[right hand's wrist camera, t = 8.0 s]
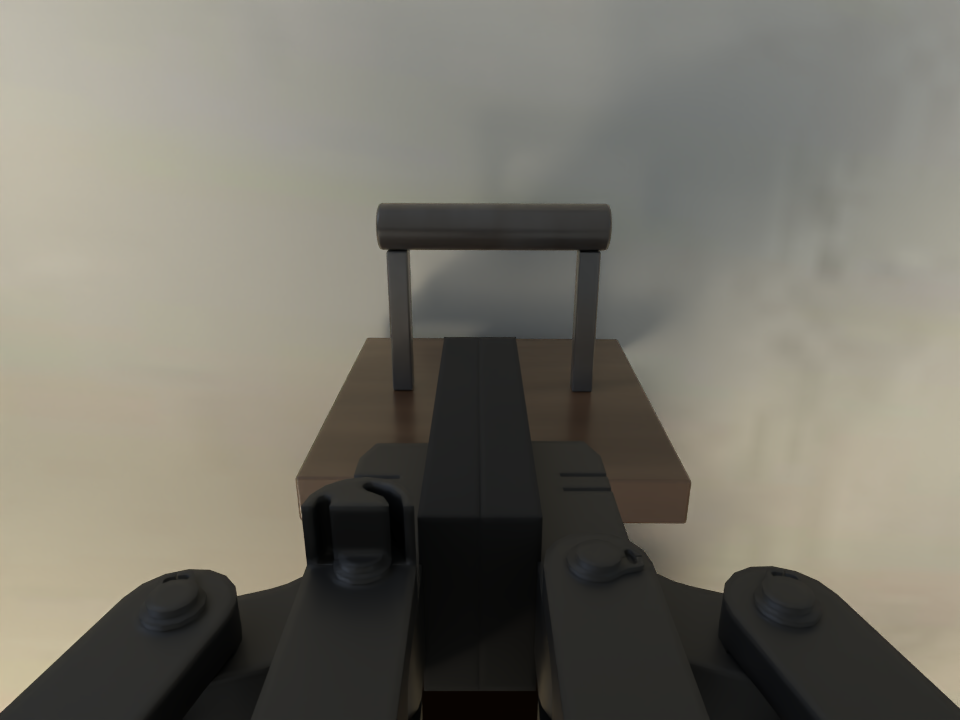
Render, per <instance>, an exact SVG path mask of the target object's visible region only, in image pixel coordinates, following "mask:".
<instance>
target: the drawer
mask: <svg viewBox="0 0 960 720" xmlns="http://www.w3.org/2000/svg"><path fill="white" fill-rule="evenodd" d="M611 229H612V217H611V210H610V207H609V205H607V204H486V203H381V204H379V206H378V209H377V215H376V233H377V241H378V245H379V247H380V249H383V250H388V251H387V274H388V295H389V315H390V336H391V338H367V339H366V341H365V343H364V345H363V347H362V349H361V351H360V353H359V355H358V357H357V359H356V361H355V363H354V365H353V367H352V369H351V371H350V373H349V375H348V377H347V379H346V381H345V383H344V385H343V387H342V388H341V390H340V392H339V394H338V396H337V398H336V400H335V402H334V404H333V406H332V408H331V410H330V412H329V414H328V416H327V418H326V420H325V422H324V424H323V426H322V428H321V430H320V432H319V434H318V436H317V437H316V439H315V441H314V443H313V445H312V447H311V449H310V451H309V453H308V455H307V457H306V459H305V461H304V463H303V465H302V467H301V469H300V471H299V473H298V475H297V477H296V487H297V496H298V505H299V514H300V518H301V519H302V513H301V505H302V504H303V503H304V502H305V500H306V499H307V498H308V497H309V495H310V494H312V493H314V492H315V491H317V490H319V489H320V488H322V487H323V486H325V485H328V484H331V483H334V482H337V481H341V480H344V479H351V478H354V473H355V470H356V467H357V464H358V461H359V458H360V457H361V456H363V455H364V454H365V453H366V452H367V451H368V450H369V449H371V448H372V447H373V446H374V445H375V444H376V443H429V436H430V429H431V422H432V416H433V409H434V402H435V396H436V389H437V382H438V376H439V369H440V362H441V355H442V349H443V342H444V338H413V329H412V301H411V274H410V250H577V262H576V281H575V300H574V319H573V338H572V339H516V342H517V349H518V355H519V362H520V369H521V376H522V382H523V389H524V396H525V402H526V409H527V416H528V422H529V429H530V436H531V441H584V442H585V443H586V444H587V445H589V446H590V447H591V448H592V449H593V450H594V451H596V452H597V453H598V454H599V455H600V456H601V459H602V462H603V465H604V468H605V471H606V477H608V479H609V482H610V485H611V491H613V494H614V497H615V500H616V503H617V506H618V509H619V512H620V515H621V518H622V521H623V523H685V522H686V519H687V512H688V504H689V496H690V488H691V480H690V478H689V476H688V474H687V473H686V471H685V469H684V467H683V465H682V463H681V461H680V459H679V457H678V455H677V453H676V451H675V450H674V448H673V446H672V444H671V442H670V440H669V438H668V436H667V434H666V432H665V430H664V428H663V427H662V425H661V423H660V421H659V419H658V417H657V415H656V413H655V411H654V409H653V407H652V405H651V404H650V402H649V400H648V398H647V396H646V394H645V392H644V390H643V388H642V386H641V384H640V382H639V381H638V379H637V377H636V375H635V373H634V371H633V369H632V367H631V365H630V363H629V361H628V359H627V358H626V356H625V354H624V352H623V350H622V348H621V346H620V344H619V342H618V340H616V339H595V334H596V319H597V303H598V288H599V273H600V258H601V253H600V251H604V250H607V249H608V246H609V244H610V239H611ZM422 714H423V720H537V714H538V686H537V677H536V691H424V679H423V689H422Z"/></svg>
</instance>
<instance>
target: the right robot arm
mask: <svg viewBox="0 0 960 720" xmlns="http://www.w3.org/2000/svg"><path fill="white" fill-rule="evenodd" d="M301 513H302V522H303V531H304V540H305V549H306V558H307V567H306V570H305V572H304V575H303V577H301V578H299V579H297V580H295V581H292V582H290V583H288V584H285V585H282V586H279V587H275V588H272V589H268V590H263V591H259V592H254V593H250V594H245V595H241V596H237V593H236V587H235V585H234V584H233V583H232V582H231V581H230V580H229V579H228V578H227V576H225V575H222V574H220V573H217V572H214V571H211V570H194V569H188V570H183V571H178V572H173V573H168V574H164V575H162V576H160V577H157V578H155V579H153V580H151V581H148V582H146V583H144V584H142V585H140V586H139V587H138V588H136V589H135V590H133V591H132V592H131V593H129V594H128V595H126V596H125V597H124V598H123V599H121V600H120V601H119V602H118V603H117V604H116V605H115V606H114V607H113V608H112V609H111V610H110V611H109V612H108V613H107V614H105V615H104V616H103V617H102V618H101V619H100V620H99V621H98V622H97V623H96V624H95V625H94V626H93V627H92V628H91V629H90V630H88V631H87V632H86V633H85V634H84V635H83V636H82V637H81V638H80V639H79V640H78V641H77V642H76V643H75V644H74V645H72V646H71V647H70V648H69V649H68V650H67V651H66V652H65V653H64V654H63V655H62V656H61V657H60V658H59V659H58V660H56V661H55V662H54V663H53V664H52V665H51V666H50V667H49V668H48V669H47V670H46V671H45V672H44V673H43V674H42V675H40V676H39V677H38V678H37V679H36V680H35V681H34V682H33V683H32V684H31V685H30V686H29V687H28V688H27V689H26V690H24V691H23V692H22V693H21V694H20V695H19V696H18V697H17V698H16V699H15V700H14V701H13V702H12V703H11V704H10V705H8V706H7V707H6V708H5V709H4V710H3V711H2V712H1V713H0V720H423V714H422V689H423V679H424V691H536V677H537V686H538V714H537V720H960V708H959V707H958V706H957V705H955V704H954V703H953V702H952V701H951V700H950V699H949V698H948V697H947V696H946V695H945V694H944V693H943V692H941V691H940V690H939V689H938V688H937V687H936V686H935V685H934V684H933V683H932V682H931V681H930V680H929V679H928V678H926V677H925V676H924V675H923V674H922V673H921V672H920V671H919V670H918V669H917V668H916V667H915V666H914V665H912V664H911V663H910V662H909V661H908V660H907V659H906V658H905V657H904V656H903V655H902V654H901V653H900V652H898V651H897V650H896V649H895V648H894V647H893V646H892V645H891V644H890V643H889V642H888V641H887V640H886V639H885V638H883V637H882V636H881V635H880V634H879V633H878V632H877V631H876V630H875V629H874V628H873V627H872V626H871V625H869V624H868V623H867V622H866V621H865V620H864V619H863V618H862V617H861V616H860V615H859V614H858V613H857V612H856V611H854V610H853V609H852V608H851V607H850V606H849V605H848V604H847V603H846V602H845V601H844V600H843V599H842V598H840V597H839V596H838V595H837V594H836V593H834V592H833V591H832V590H830V589H829V588H827V587H826V586H825V585H823V584H822V583H820V582H819V581H817V580H815V579H813V578H810V577H808V576H806V575H803V574H801V573H799V572H796V571H792V570H787V569H783V568H778V567H773V566H766V567H749V568H746V569H744V570H741V571H738V572H735V573H734V574H733V575H732V576H731V577H730V578H729V580H728V581H727V582H726V583H725V587H724V593H719V592H714V591H710V590H705V589H701V588H696V587H692V586H688V585H685V584H681V583H678V582H674V581H672V580H670V579H667V578H665V577H663V576H661V575H659V574H657V573H656V571H655V569H654V566H653V564H652V562H651V561H650V559H649V558H648V556H647V555H646V553H645V552H644V551H643V550H642V549H640V548H639V547H637V546H636V545H635V544H633V543H632V542H630V541H629V539H628V536H627V533H626V530H625V527H624V524H623V521H622V518H621V515H620V512H619V509H618V506H617V503H616V500H615V497H614V494H613V491H611V485H610V482H609V479H608V477H606V471H605V468H604V465H603V462H602V459H601V456H600V455H599V454H598V453H597V452H596V451H594V450H593V449H592V448H591V447H590V446H589V445H587V444H586V443H585V442H584V441H531V436H530V429H529V422H528V416H527V409H526V402H525V396H524V389H523V382H522V376H521V369H520V362H519V355H518V349H517V342H516V337H444V342H443V349H442V355H441V362H440V369H439V376H438V382H437V389H436V396H435V402H434V409H433V416H432V422H431V429H430V436H429V443H376V444H375V445H374V446H373V447H372V448H371V449H369V450H368V451H367V452H366V453H365V454H364V455H363V456H361V457H360V458H359V461H358V464H357V467H356V470H355V473H354V478H351V479H344V480H341V481H337V482H334V483H331V484H328V485H325V486H323V487H322V488H320V489H319V490H317V491H315V492H314V493H312V494H310V495H309V497H308V498H307V499H306V500H305V502H304V503H303V504H302V505H301Z"/></svg>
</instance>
